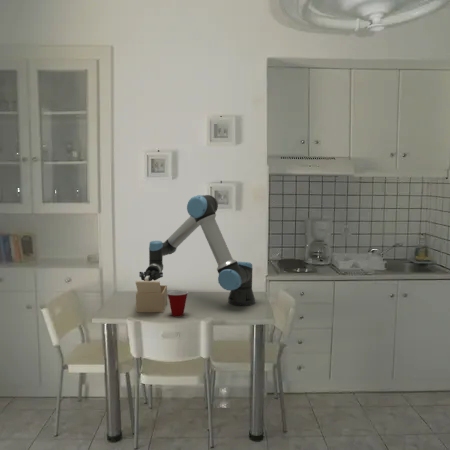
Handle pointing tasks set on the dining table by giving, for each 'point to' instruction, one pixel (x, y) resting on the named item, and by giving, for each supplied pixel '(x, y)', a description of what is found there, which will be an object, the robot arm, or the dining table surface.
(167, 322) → the dining table surface
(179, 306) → the plastic cup
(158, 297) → the carton
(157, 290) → the flap
